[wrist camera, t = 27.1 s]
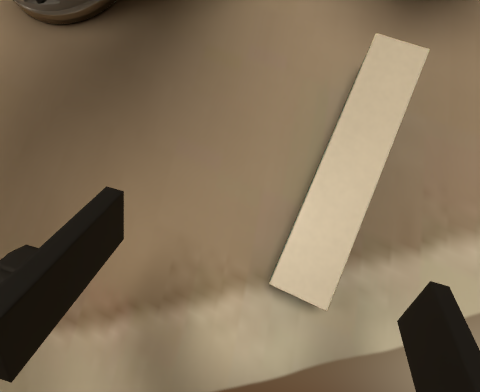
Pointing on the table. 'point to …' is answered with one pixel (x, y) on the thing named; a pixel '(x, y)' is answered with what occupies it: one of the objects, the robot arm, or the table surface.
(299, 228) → the long rectangular block
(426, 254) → the table surface
